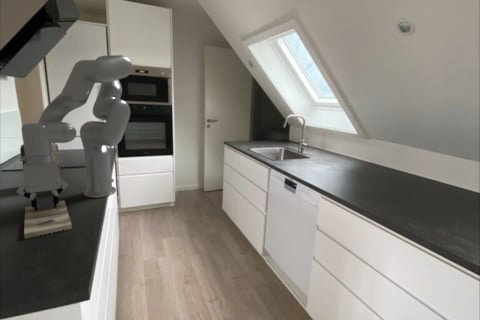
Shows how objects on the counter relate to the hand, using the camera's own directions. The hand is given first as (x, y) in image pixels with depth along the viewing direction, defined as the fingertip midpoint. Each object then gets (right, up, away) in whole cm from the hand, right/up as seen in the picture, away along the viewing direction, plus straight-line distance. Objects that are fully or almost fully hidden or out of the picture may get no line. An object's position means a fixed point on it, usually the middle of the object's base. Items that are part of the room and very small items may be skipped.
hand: (45, 206), depth 97 cm
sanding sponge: (0, 0, 0) cm, 0 cm away
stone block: (-19, +5, +25) cm, 32 cm away
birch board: (+4, -3, -5) cm, 7 cm away
